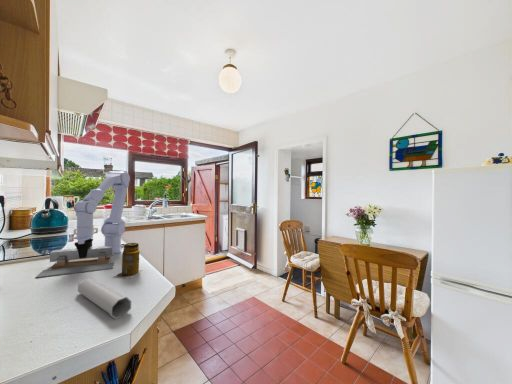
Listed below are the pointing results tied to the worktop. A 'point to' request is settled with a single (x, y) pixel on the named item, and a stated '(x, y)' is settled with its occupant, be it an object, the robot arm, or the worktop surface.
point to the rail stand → (80, 261)
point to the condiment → (130, 261)
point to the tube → (105, 298)
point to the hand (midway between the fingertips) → (83, 256)
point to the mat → (75, 270)
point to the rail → (73, 254)
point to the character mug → (92, 232)
